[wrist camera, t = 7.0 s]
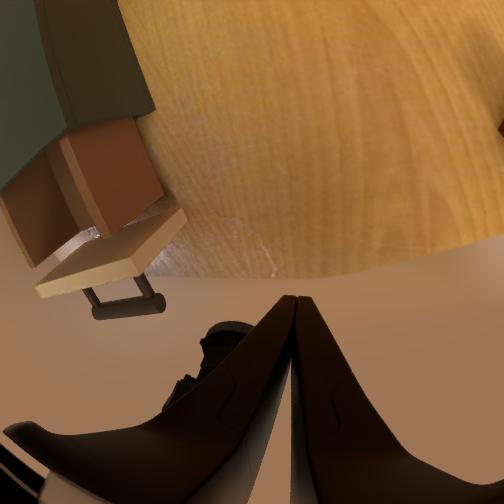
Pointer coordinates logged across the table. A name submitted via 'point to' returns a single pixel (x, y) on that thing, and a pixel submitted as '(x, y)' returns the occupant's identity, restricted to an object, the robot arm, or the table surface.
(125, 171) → the drawer
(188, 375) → the robot arm
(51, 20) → the cabinet
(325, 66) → the table surface
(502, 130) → the block
